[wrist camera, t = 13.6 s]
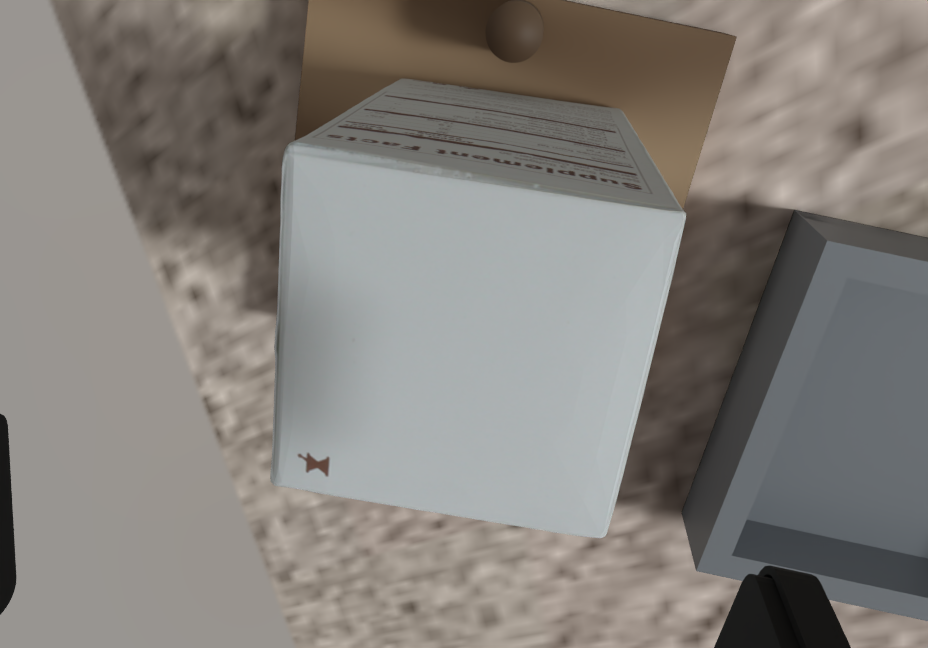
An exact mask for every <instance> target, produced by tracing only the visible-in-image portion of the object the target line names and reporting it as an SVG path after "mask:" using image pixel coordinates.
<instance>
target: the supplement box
mask: <svg viewBox="0 0 928 648" xmlns="http://www.w3.org/2000/svg"><path fill="white" fill-rule="evenodd" d="M685 221H686V213H685V212H684V211H683V209H682V208H681V206H680V204H679V203H678V201H677V199H676V198H675V196H674V194H673V192H672V191H671V189H670V188H669V186H668V184H667V183H666V181H665V180H664V178H663V176H662V175H661V173H660V171H659V169H658V168H657V166H656V165H655V163H654V161H653V159H652V158H651V156H650V155H649V153H648V151H647V150H646V148H645V146H644V145H643V143H642V142H641V140H640V139H639V137H638V135H637V133H636V131H635V130H634V129H633V127H632V125H631V124H630V122H629V121H628V119H627V117H626V116H625V114H624V113H623V111H622V110H621V109H618V108H609V107H601V106H594V105H587V104H580V103H572V102H565V101H558V100H551V99H544V98H537V97H531V96H524V95H517V94H510V93H503V92H497V91H490V90H483V89H476V88H469V87H462V86H455V85H449V84H442V83H435V82H427V81H420V80H413V79H403V78H402V79H399V80H398V81H396V82H394V83H393V84H391V85H389V86H387V87H385V88H383V89H382V90H380V91H379V92H377V93H375V94H374V95H372V96H370V97H368V98H367V99H365V100H363V101H362V102H360V103H359V104H357V105H355V106H354V107H352V108H351V109H349V110H347V111H346V112H344V113H342V114H341V115H339V116H338V117H336V118H334V119H333V120H331V121H329V122H328V123H326V124H324V125H323V126H321V127H319V128H318V129H316V130H315V131H313V132H311V133H309V134H308V135H306V136H304V137H302V138H300V139H298V140H295V141H293V142H291V143H289V144H288V145H287V147H286V149H285V152H284V155H283V161H282V185H281V213H280V247H279V275H278V305H277V319H276V330H275V346H274V348H275V390H274V419H273V446H272V463H271V478H270V479H271V482H272V483H273V484H274V485H275V486H281V487H288V488H295V489H301V490H306V491H311V492H315V493H321V494H327V495H332V496H338V497H344V498H350V499H356V500H362V501H368V502H374V503H380V504H386V505H393V506H399V507H404V508H410V509H416V510H422V511H429V512H435V513H441V514H447V515H453V516H459V517H465V518H470V519H477V520H483V521H489V522H495V523H501V524H508V525H514V526H520V527H527V528H531V529H537V530H544V531H549V532H554V533H562V534H568V535H574V536H584V537H593V538H602V537H604V536H606V534H607V530H608V527H609V524H610V521H611V517H612V514H613V510H614V507H615V503H616V500H617V496H618V492H619V488H620V485H621V481H622V477H623V473H624V469H625V465H626V461H627V457H628V453H629V449H630V445H631V441H632V437H633V434H634V430H635V426H636V422H637V418H638V414H639V410H640V406H641V402H642V398H643V394H644V390H645V386H646V382H647V378H648V374H649V370H650V366H651V362H652V358H653V354H654V350H655V346H656V342H657V338H658V334H659V329H660V325H661V321H662V317H663V313H664V309H665V305H666V301H667V297H668V293H669V289H670V285H671V281H672V277H673V272H674V268H675V264H676V259H677V255H678V251H679V246H680V242H681V237H682V233H683V229H684V224H685Z"/></svg>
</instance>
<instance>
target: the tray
mask: <svg viewBox="0 0 928 648" xmlns="http://www.w3.org/2000/svg"><path fill="white" fill-rule="evenodd" d="M682 516H683V520H684V524H685V528H686V532H687V536H688V540H689V544H690V548H691V552H692V556H693V560H694V564H695V568H696V571H699V572H704V573H708V574H713V575H717V576H722V577H727V578H731V579H736V580H740V581H743V580H744V578H745V577H746V576H747V575H748V574H755V575H758V574H759V572H760V571H761V569H763V568H764V567H765V566H769V565H770V566H775V567H780V568H784V569H789V570H794V571H798V572H803V573H808V574H812V575H814V576H816V577H817V578H818V580H819V581H820V583H821V584H822V586H823V589H824V591H825V593H826V595H827V597H828V599H829V600H833V601H838V602H842V603H847V604H851V605H856V606H861V607H865V608H870V609H875V610H879V611H884V612H888V613H893V614H898V615H902V616H907V617H912V618H916V619H921V620H925V621H928V238H926V237H921V236H916V235H911V234H907V233H902V232H897V231H892V230H888V229H883V228H878V227H873V226H869V225H864V224H859V223H854V222H849V221H845V220H840V219H835V218H830V217H826V216H821V215H816V214H811V213H807V212H802V211H797V210H794V213H793V215H792V218H791V221H790V223H789V226H788V229H787V231H786V234H785V237H784V239H783V242H782V245H781V247H780V250H779V253H778V256H777V258H776V261H775V264H774V266H773V269H772V272H771V274H770V277H769V280H768V282H767V285H766V288H765V290H764V293H763V296H762V298H761V301H760V304H759V306H758V309H757V312H756V315H755V317H754V320H753V323H752V325H751V328H750V331H749V333H748V336H747V339H746V341H745V344H744V347H743V349H742V352H741V355H740V357H739V360H738V363H737V366H736V368H735V371H734V374H733V376H732V379H731V382H730V384H729V387H728V390H727V392H726V395H725V398H724V400H723V403H722V406H721V408H720V411H719V414H718V416H717V419H716V422H715V425H714V427H713V430H712V433H711V435H710V438H709V441H708V443H707V446H706V449H705V451H704V454H703V457H702V459H701V462H700V465H699V467H698V470H697V473H696V476H695V478H694V481H693V484H692V486H691V489H690V492H689V494H688V497H687V500H686V502H685V505H684V508H683V510H682Z"/></svg>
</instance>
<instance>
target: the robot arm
mask: <svg viewBox="0 0 928 648" xmlns="http://www.w3.org/2000/svg"><path fill="white" fill-rule="evenodd" d="M15 585H16V564H15V546H14V528H13V512H12V493H11V474H10V457H9V438H8V424H7V420H6V418H5V416H4V415H1V414H0V614H1V613H2V612H3V611H4V609H5V608H6V607H7V605H8V604H9V602H10V600H11V598H12V595H13V593H14V589H15ZM714 648H851V647H850V645H849V643H848V640H847V638H846V636H845V634H844V632H843V630H842V627H841V625H840V623H839V621H838V619H837V617H836V615H835V612H834V610H833V608H832V606H831V604H830V602H829V599H828V597H827V595H826V593H825V591H824V589H823V586H822V584H821V583H820V581H819V580H818V578H817V577H816V576H814V575H812V574H808V573H803V572H798V571H794V570H789V569H784V568H780V567H775V566H770V565H769V566H765V567H764V568H763V569H761V571H760V572H759V574H758V575H755V574H748V575H747V576H746V577H745V578H744V580H743V582H742V584H741V586H740V588H739V591H738V593H737V595H736V598H735V600H734V602H733V605H732V607H731V609H730V612H729V614H728V616H727V619H726V621H725V623H724V626H723V628H722V630H721V633H720V635H719V637H718V640H717V642H716V644H715V647H714Z"/></svg>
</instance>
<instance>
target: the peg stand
mask: <svg viewBox="0 0 928 648" xmlns="http://www.w3.org/2000/svg"><path fill="white" fill-rule="evenodd" d="M735 41H736V36H732V35H729V34H725V33H721V32H716V31H711V30H706V29H701V28H696V27H692V26H687V25H682V24H677V23H672V22H667V21H663V20H658V19H653V18H648V17H643V16H638V15H634V14H629V13H624V12H619V11H614V10H610V9H605V8H600V7H595V6H590V5H585V4H581V3H576V2H571V1H566V0H309V2H308V13H307V23H306V33H305V43H304V53H303V63H302V73H301V83H300V93H299V104H298V114H297V124H296V134H295V140H298V139H300V138H302V137H304V136H306V135H308V134H309V133H311V132H313V131H315V130H316V129H318V128H319V127H321V126H323V125H324V124H326V123H328V122H329V121H331V120H333V119H334V118H336V117H338V116H339V115H341V114H342V113H344V112H346V111H347V110H349V109H351V108H352V107H354V106H355V105H357V104H359V103H360V102H362V101H363V100H365V99H367V98H368V97H370V96H372V95H374V94H375V93H377V92H379V91H380V90H382V89H383V88H385V87H387V86H389V85H391V84H393V83H394V82H396V81H398V80H399V79H402V78H403V79H413V80H420V81H427V82H435V83H442V84H449V85H455V86H462V87H469V88H476V89H483V90H490V91H497V92H503V93H510V94H517V95H524V96H531V97H537V98H544V99H551V100H558V101H565V102H572V103H580V104H587V105H594V106H601V107H609V108H618V109H621V110H622V111H623V113H624V114H625V116H626V117H627V119H628V121H629V122H630V124H631V125H632V127H633V129H634V130H635V131H636V133H637V135H638V137H639V139H640V140H641V142H642V143H643V145H644V146H645V148H646V150H647V151H648V153H649V155H650V156H651V158H652V159H653V161H654V163H655V165H656V166H657V168H658V169H659V171H660V173H661V175H662V176H663V178H664V180H665V181H666V183H667V184H668V186H669V188H670V189H671V191H672V192H673V194H674V196H675V198H676V199H677V201H678V203H679V204H680V206H681V208H682V209H683V207H684V204H685V201H686V198H687V194H688V191H689V188H690V185H691V182H692V178H693V175H694V172H695V169H696V166H697V162H698V159H699V156H700V153H701V150H702V146H703V143H704V140H705V137H706V134H707V130H708V127H709V124H710V121H711V118H712V114H713V111H714V108H715V105H716V102H717V98H718V95H719V92H720V89H721V85H722V82H723V79H724V76H725V73H726V69H727V66H728V63H729V60H730V57H731V53H732V50H733V47H734V44H735Z"/></svg>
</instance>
